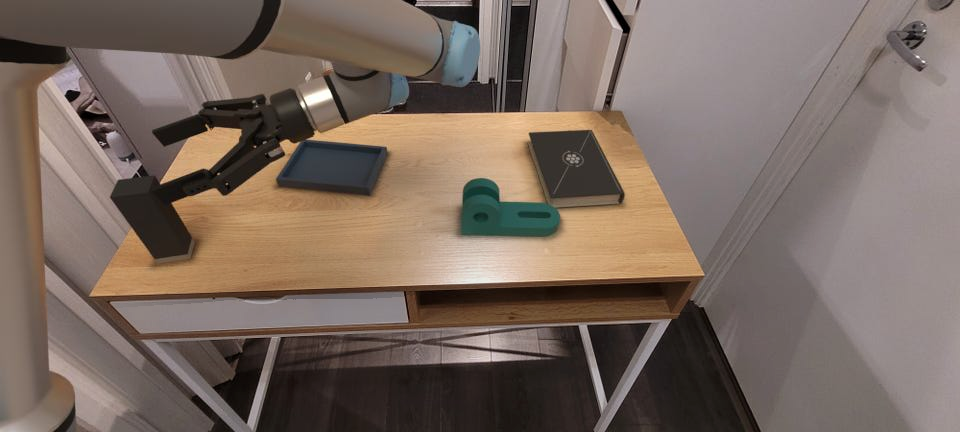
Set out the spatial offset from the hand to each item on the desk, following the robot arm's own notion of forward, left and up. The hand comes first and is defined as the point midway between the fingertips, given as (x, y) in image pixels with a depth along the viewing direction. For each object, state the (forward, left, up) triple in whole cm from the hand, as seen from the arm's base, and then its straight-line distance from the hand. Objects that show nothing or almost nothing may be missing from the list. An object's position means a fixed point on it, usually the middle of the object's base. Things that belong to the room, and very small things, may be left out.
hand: (158, 165), depth 64 cm
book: (+62, +32, -20) cm, 72 cm away
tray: (+13, +26, -20) cm, 35 cm away
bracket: (+50, +15, -20) cm, 56 cm away
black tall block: (-6, 0, -20) cm, 21 cm away
